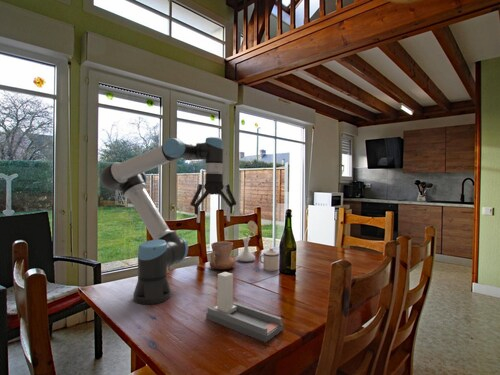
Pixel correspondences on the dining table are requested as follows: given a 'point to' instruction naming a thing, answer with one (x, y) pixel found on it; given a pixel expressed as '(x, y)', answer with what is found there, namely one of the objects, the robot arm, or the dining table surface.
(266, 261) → the beige enamel mug
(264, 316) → the switch base
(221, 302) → the switch lever
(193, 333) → the dining table surface
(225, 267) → the ceramic jug
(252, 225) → the flower in vase
